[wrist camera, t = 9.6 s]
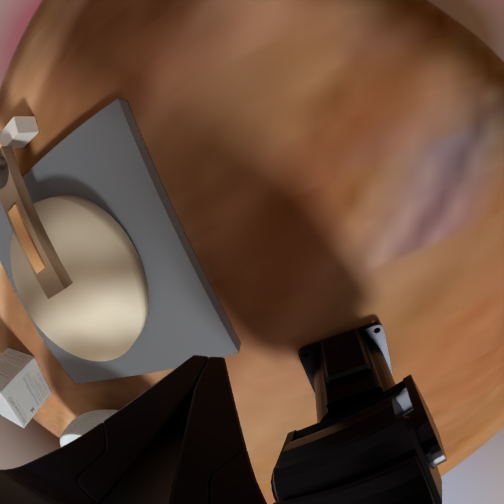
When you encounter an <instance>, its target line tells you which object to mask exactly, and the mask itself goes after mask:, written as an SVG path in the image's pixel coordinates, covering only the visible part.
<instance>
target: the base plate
mask: <svg viewBox="0 0 504 504" xmlns="http://www.w3.org/2000/svg"><path fill="white" fill-rule="evenodd" d="M38 133H39V130H38V126H37V123H36V119H35V116H14V117H13V118H12V119H11V120H10V121H9V123H8V124H7V125H6V126H5V127H4V129H3V130H2V131H1V132H0V140H1V144H2V146H10V145H11V146H12V149H18V148H24V147H25V146H26V145H27V144H28V143H29V142H30V141H31V140H32V139H33V138H34V137H35V136H36V135H37V134H38ZM22 178H23V180H24V183H25V185H26V188H27V190H28V193H29V195H30V198H31V200H32V203H33V204H34V203H36V202H38V201H41V200H44V199H48V198H51V197H54V196H57V195H74V196H78V197H82V198H85V199H87V200H89V201H91V202H93V203H95V204H96V205H98V206H99V207H101V208H102V209H104V210H105V211H106V212H107V213H108V214H110V215H111V216H112V217H113V218H114V219H115V221H116V222H117V223H118V224H119V225H120V226H121V227H122V229H123V230H124V231H125V233H126V234H127V235H128V237H129V239H130V240H131V242H132V243H133V245H134V247H135V249H136V251H137V253H138V255H139V257H140V260H141V262H142V265H143V268H144V270H145V274H146V278H147V282H148V289H149V312H148V317H147V321H146V324H145V326H144V328H143V330H142V332H141V333H140V335H139V336H138V338H137V339H136V341H135V342H134V343H133V345H132V346H131V348H130V349H129V350H128V351H127V352H126V353H125V354H123V355H121V356H120V357H118V358H116V359H113V360H109V361H90V360H86V359H82V358H80V357H77V356H74V355H72V354H71V353H69V352H67V351H65V350H64V349H62V348H60V347H59V346H58V345H56V344H55V343H54V342H53V341H51V340H50V339H49V338H48V337H47V336H46V335H45V334H44V333H43V332H42V331H41V330H40V329H39V327H38V326H37V325H36V324H35V322H34V321H33V320H32V318H31V317H30V315H29V314H28V312H27V310H26V309H25V307H24V305H23V303H22V301H21V299H20V296H19V294H18V291H17V289H16V286H15V282H14V279H13V274H12V269H11V260H10V247H11V239H12V235H13V230H12V228H11V225H10V223H9V221H8V218H7V216H6V213H5V211H4V208H3V206H2V203H1V201H0V261H1V263H2V265H3V267H4V269H5V272H6V274H7V276H8V278H9V280H10V282H11V284H12V286H13V288H14V290H15V292H16V294H17V296H18V298H19V299H20V301H21V303H22V305H23V307H24V309H25V310H26V312H27V314H28V316H29V317H30V319H31V321H32V322H33V324H34V326H35V327H36V329H37V331H38V332H39V334H40V335H41V337H42V339H43V340H44V342H45V343H46V345H47V346H48V348H49V349H50V351H51V352H52V354H53V355H54V357H55V358H56V359H57V361H58V362H59V364H60V365H61V366H62V368H63V369H64V371H65V372H66V373H67V375H68V376H69V377H70V379H71V380H72V381H73V382H74V384H80V383H88V382H95V381H103V380H110V379H116V378H123V377H129V376H135V375H141V374H146V373H152V372H157V371H162V370H167V369H172V368H177V367H178V366H180V365H181V364H182V363H184V362H185V361H186V360H188V359H189V358H190V357H192V356H193V355H200V356H207V357H208V358H209V357H225V356H229V355H233V354H237V353H239V350H240V345H241V342H240V340H239V339H238V337H237V335H236V333H235V331H234V329H233V327H232V326H231V324H230V322H229V320H228V318H227V316H226V314H225V312H224V310H223V309H222V307H221V305H220V303H219V301H218V299H217V297H216V295H215V293H214V291H213V289H212V287H211V285H210V283H209V281H208V279H207V277H206V275H205V273H204V271H203V269H202V267H201V265H200V263H199V261H198V259H197V257H196V255H195V253H194V251H193V249H192V247H191V245H190V243H189V241H188V239H187V237H186V235H185V232H184V230H183V228H182V226H181V224H180V222H179V220H178V218H177V216H176V213H175V211H174V209H173V207H172V205H171V203H170V200H169V198H168V196H167V194H166V192H165V189H164V187H163V185H162V183H161V180H160V178H159V176H158V174H157V171H156V169H155V167H154V165H153V162H152V160H151V158H150V155H149V153H148V151H147V148H146V146H145V144H144V141H143V139H142V137H141V134H140V132H139V129H138V127H137V124H136V122H135V120H134V117H133V115H132V112H131V110H130V107H129V105H128V102H127V100H123V99H119V98H118V99H116V100H115V101H113V102H112V103H110V104H109V105H108V106H106V107H105V108H103V109H102V110H100V111H99V112H98V113H96V114H95V115H94V116H92V117H91V118H90V119H88V120H87V121H86V122H84V123H83V124H82V125H81V126H79V127H78V128H77V129H76V130H74V131H73V132H72V133H71V134H69V135H68V136H67V137H66V138H65V139H63V140H62V141H61V142H60V143H59V144H57V145H56V146H55V147H54V148H53V149H52V150H51V151H50V152H48V153H47V154H46V155H45V156H44V157H43V158H42V159H41V160H40V161H39V162H38V163H36V164H35V165H34V166H33V167H32V168H31V169H30V170H29V171H28V172H27V173H26V174H25V175H24V176H23V177H22Z"/></svg>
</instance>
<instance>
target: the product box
mask: <svg viewBox="0 0 504 504" xmlns="http://www.w3.org/2000/svg"><path fill="white" fill-rule="evenodd" d="M51 393H52V392H51V389H50V388H49V386H48V384H47V382H46V380H45V378H44V376H43V374H42V372H41V370H40V368H39V366H38V363H37V361H36V359H35V357H34V356H32V355H29V354H25V353H22V352H20V351H17V350H14V349H11V348H7V349H6V350H5V351H4V352H3V353H1V354H0V414H1V415H2V416H4V417H6V418H7V419H9V420H10V421H12V422H14V423H16V424H17V425H19V426H21V427H23V428H24V427H25V426H26V425H27V424H28V422H29V421H30V420H31V418H32V417H33V416H34V415H35V413H36V412H37V411H38V410H39V408H40V407H41V406H42V405H43V403H44V402H45V401H46V400H47V398H48V397H49V396H50V395H51Z"/></svg>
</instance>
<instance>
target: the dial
mask: <svg viewBox="0 0 504 504" xmlns="http://www.w3.org/2000/svg"><path fill="white" fill-rule="evenodd" d="M0 201H1V203H2V206H3V208H4V211H5V213H6V216H7V218H8V221H9V223H10V225H11V228H12V230H13V235H12V239H11V247H10V260H11V269H12V274H13V279H14V282H15V286H16V289H17V291H18V294H19V296H20V299H21V301H22V303H23V305H24V307H25V309H26V310H27V312H28V314H29V315H30V317H31V318H32V320H33V321H34V322H35V324H36V325H37V326H38V327H39V329H40V330H41V331H42V332H43V333H44V334H45V335H46V336H47V337H48V338H49V339H50V340H51V341H53V342H54V343H55V344H56V345H58V346H59V347H60V348H62V349H64V350H65V351H67V352H69V353H71V354H72V355H74V356H77V357H80V358H82V359H86V360H90V361H109V360H113V359H116V358H118V357H120V356H121V355H123V354H125V353H126V352H127V351H128V350H129V349H130V348H131V346H132V345H133V343H134V342H135V341H136V339H137V338H138V336H139V335H140V333H141V332H142V330H143V328H144V326H145V324H146V321H147V317H148V312H149V289H148V282H147V278H146V274H145V270H144V268H143V265H142V262H141V260H140V257H139V255H138V253H137V251H136V249H135V247H134V245H133V243H132V242H131V240H130V239H129V237H128V235H127V234H126V233H125V231H124V230H123V229H122V227H121V226H120V225H119V224H118V223H117V222H116V221H115V219H114V218H113V217H112V216H111V215H110V214H108V213H107V212H106V211H105V210H104V209H102V208H101V207H99V206H98V205H96V204H95V203H93V202H91V201H89V200H87V199H85V198H82V197H78V196H74V195H57V196H54V197H51V198H48V199H44V200H41V201H38V202H36V203H34V204H33V203H32V200H31V198H30V195H29V193H28V190H27V188H26V185H25V183H24V180H23V178H22V175H21V172H20V170H19V167H18V164H17V161H16V158H15V155H14V152H13V149H12V146H11V145H10V146H2V147H1V149H0Z"/></svg>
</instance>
